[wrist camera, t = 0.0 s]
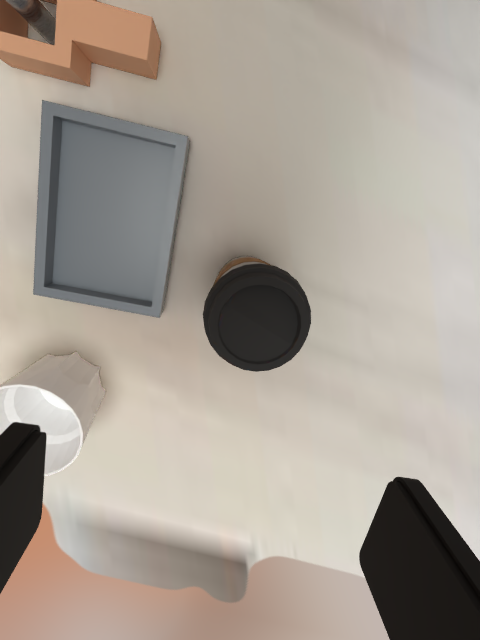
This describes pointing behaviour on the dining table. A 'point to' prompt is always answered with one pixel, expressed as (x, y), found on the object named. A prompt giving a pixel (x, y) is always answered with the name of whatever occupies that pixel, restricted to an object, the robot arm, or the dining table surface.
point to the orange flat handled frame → (82, 41)
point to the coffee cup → (256, 315)
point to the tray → (106, 209)
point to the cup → (54, 404)
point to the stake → (36, 17)
